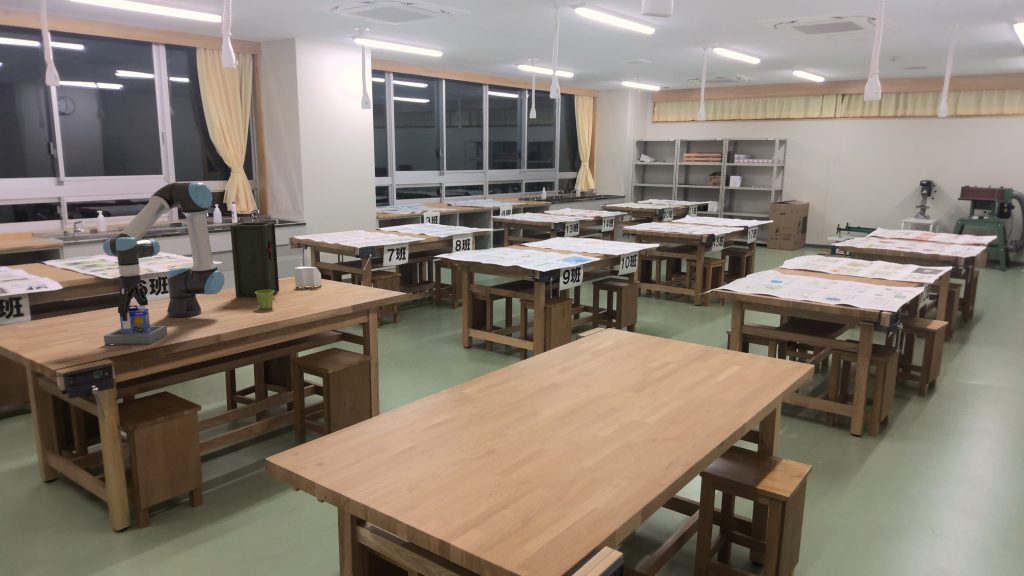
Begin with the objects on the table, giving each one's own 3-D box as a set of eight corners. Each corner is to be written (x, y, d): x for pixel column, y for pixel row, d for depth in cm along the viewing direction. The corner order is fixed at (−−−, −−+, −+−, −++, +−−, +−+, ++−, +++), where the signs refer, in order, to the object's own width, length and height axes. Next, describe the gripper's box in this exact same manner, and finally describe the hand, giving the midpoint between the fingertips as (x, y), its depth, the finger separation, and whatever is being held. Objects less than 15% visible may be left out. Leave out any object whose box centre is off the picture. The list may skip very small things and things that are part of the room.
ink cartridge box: (121, 340, 279) (117, 306, 276) (126, 337, 284) (122, 303, 281) (147, 339, 281) (144, 305, 278) (151, 335, 286) (148, 302, 284)
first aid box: (247, 291, 390) (241, 222, 382) (279, 290, 391) (274, 222, 383) (236, 297, 371) (230, 225, 364) (269, 297, 372) (264, 225, 365)
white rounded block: (295, 288, 400) (294, 268, 398) (306, 284, 410) (304, 265, 408) (311, 288, 397) (310, 268, 395) (321, 285, 408) (320, 266, 405)
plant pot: (265, 310, 338) (264, 293, 337) (252, 308, 342) (250, 292, 341) (279, 307, 346) (278, 290, 345) (266, 305, 351) (265, 289, 349)
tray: (125, 335, 290) (124, 326, 290) (167, 334, 291) (166, 325, 290) (104, 345, 275) (103, 335, 274) (149, 344, 275) (148, 335, 275)
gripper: (135, 270, 290) (140, 317, 294) (104, 279, 265) (110, 331, 269) (153, 269, 290) (158, 317, 294) (123, 279, 266) (129, 331, 270)
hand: (135, 324), depth 282 cm, fingers open, 13 cm apart
